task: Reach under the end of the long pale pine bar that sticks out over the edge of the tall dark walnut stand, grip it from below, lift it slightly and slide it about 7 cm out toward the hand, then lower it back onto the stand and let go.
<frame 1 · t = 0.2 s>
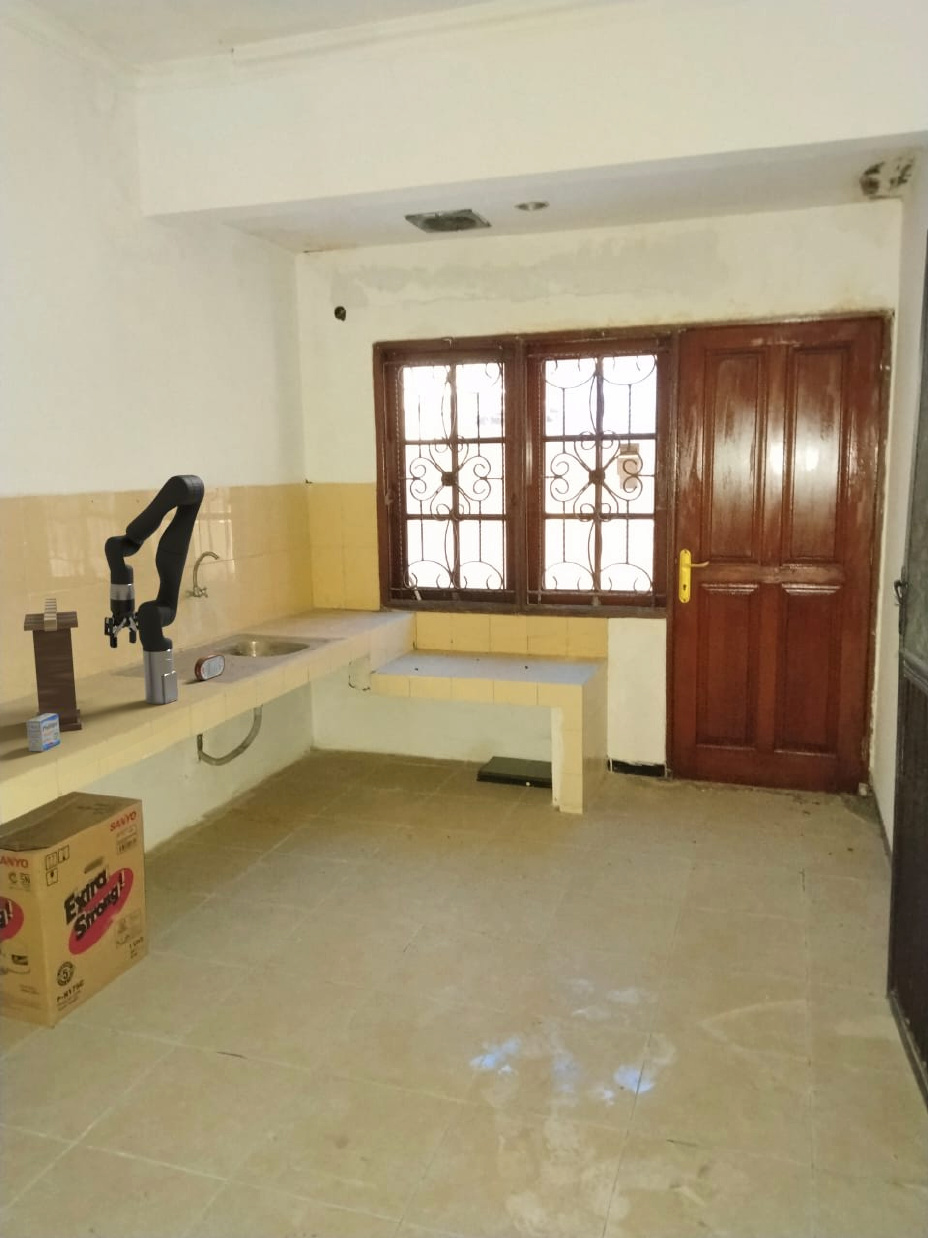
hand: (123, 645, 298), 17 cm above the worktop, tool pointing down, fingers open, 8 cm apart
stand: (59, 723, 271), on the worktop
medicine box: (44, 748, 249), on the worktop
tin: (210, 678, 328), on the worktop
bar: (51, 618, 264), point 32 cm above the worktop, touching stand
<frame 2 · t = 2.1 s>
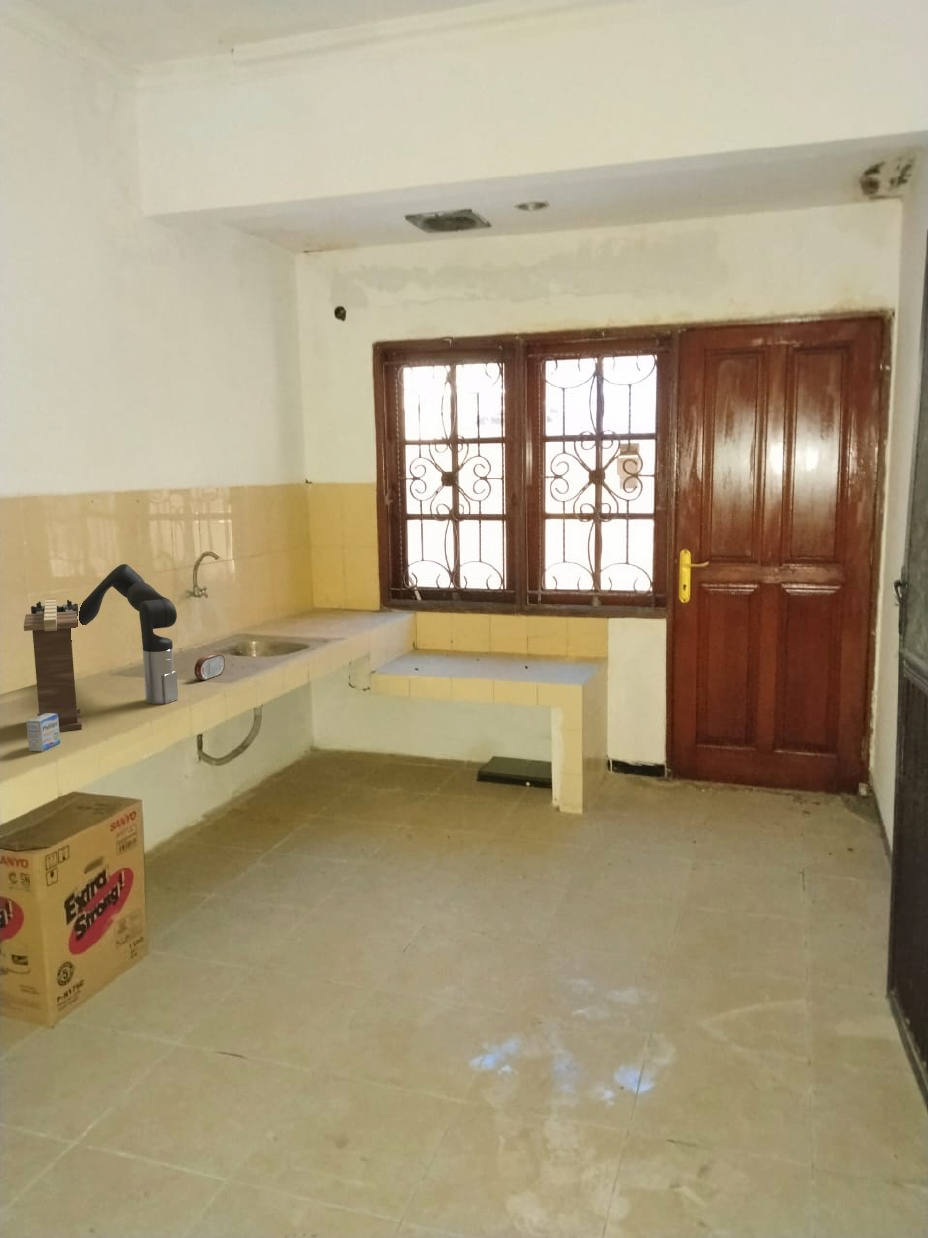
hand: (54, 603, 297), 31 cm above the worktop, tool pointing upward, fingers open, 8 cm apart
nothing on the worktop moved.
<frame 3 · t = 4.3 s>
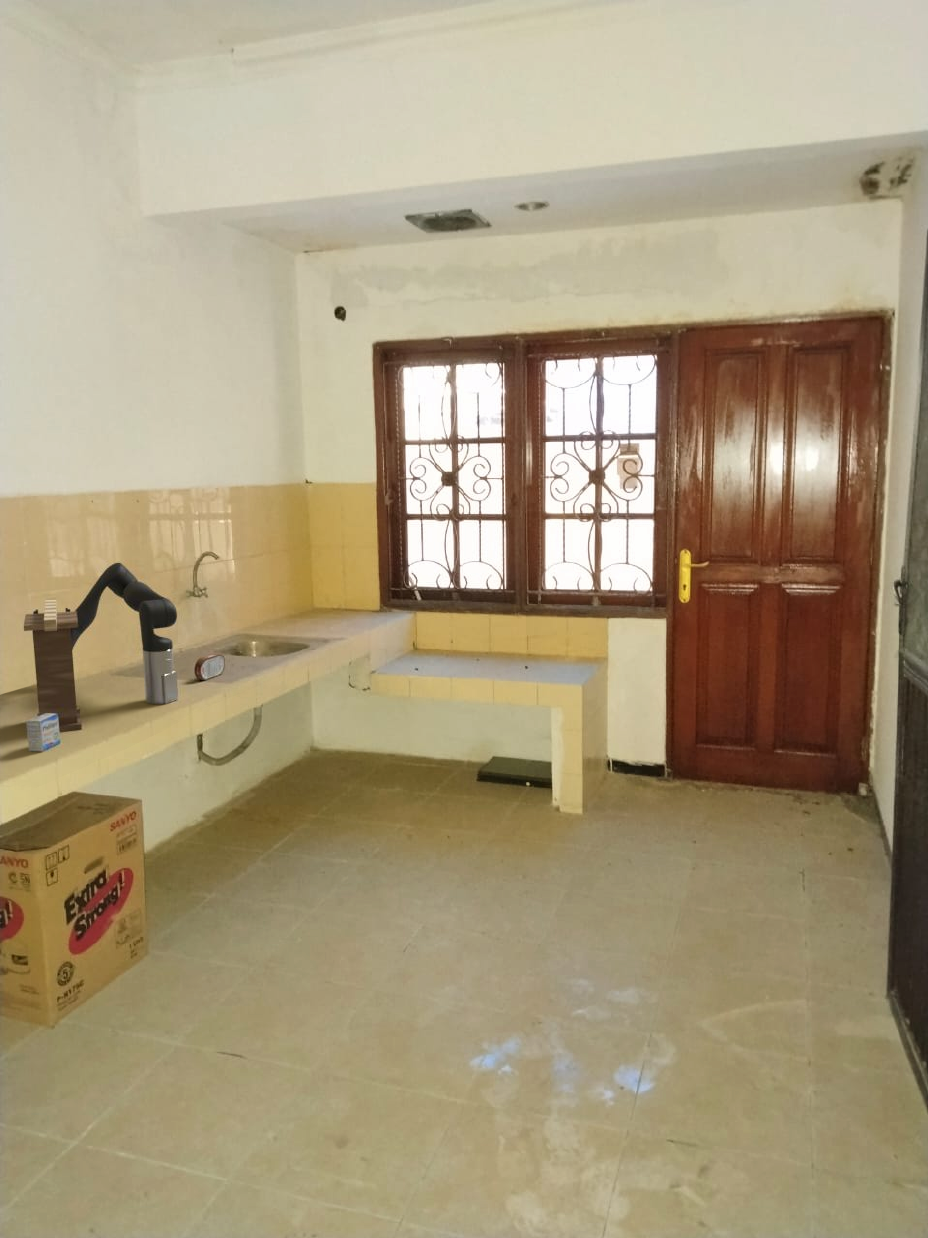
hand: (51, 611, 283), 31 cm above the worktop, tool pointing upward, fingers open, 8 cm apart
nothing on the worktop moved.
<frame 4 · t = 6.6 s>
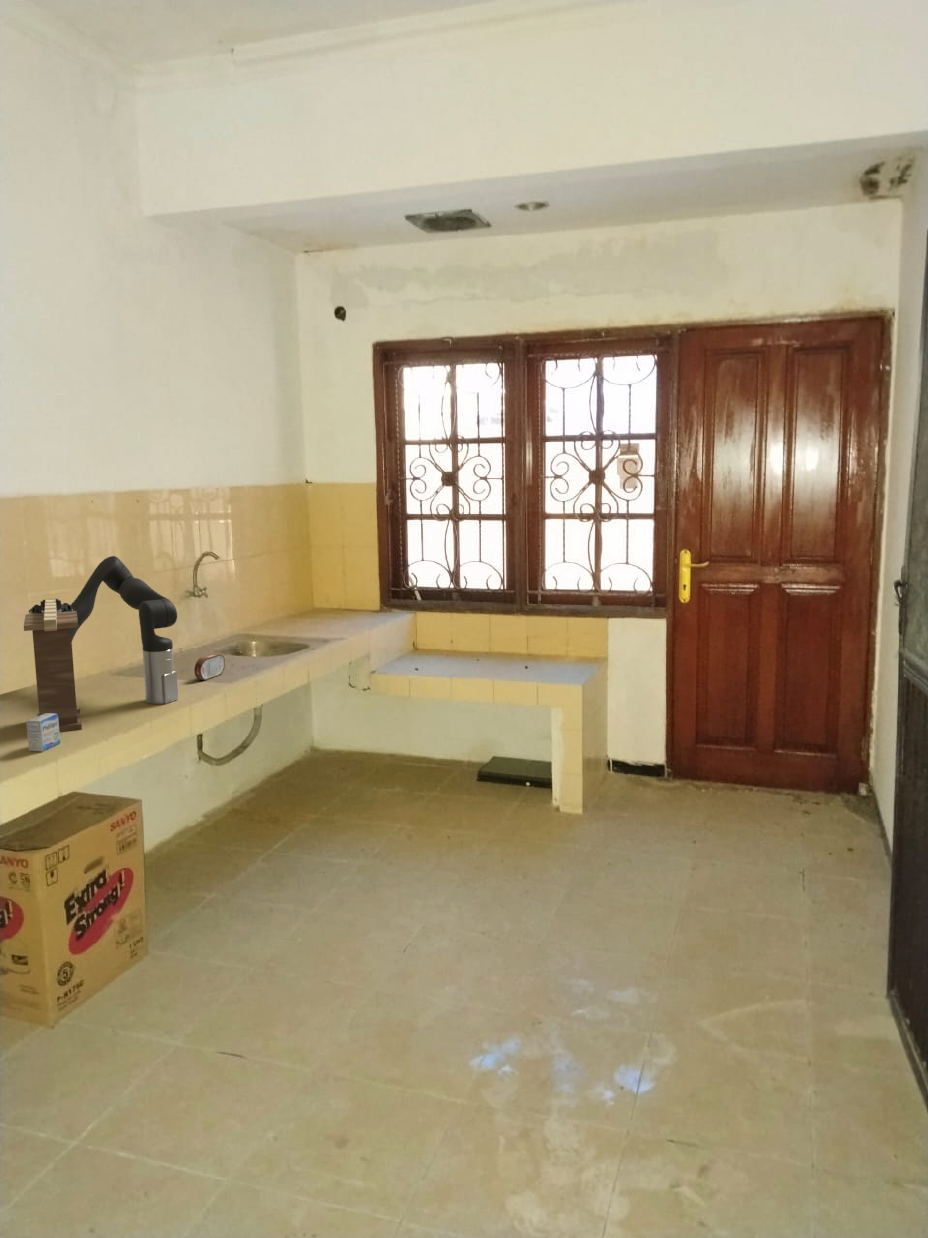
hand: (50, 602, 276), 35 cm above the worktop, tool pointing upward, fingers closed on bar, 3 cm apart
bar: (51, 618, 264), point 32 cm above the worktop, touching gripper, stand
everything else where it was.
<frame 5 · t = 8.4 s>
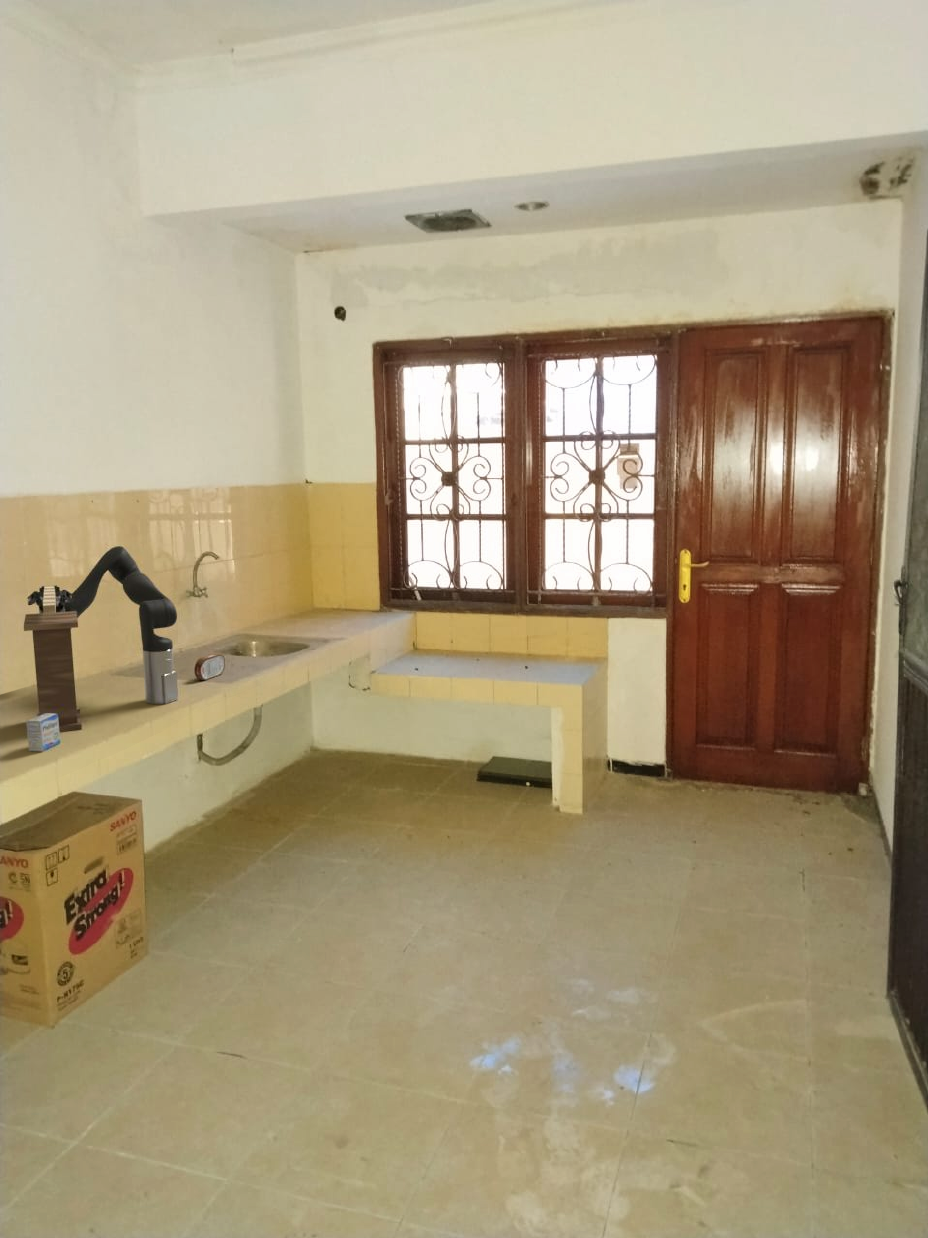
hand: (49, 588, 277), 39 cm above the worktop, tool pointing upward, fingers closed on bar, 3 cm apart
bar: (50, 604, 266), point 36 cm above the worktop, touching gripper
everything else where it was.
when the fingers open (36 cm above the worktop, at t = 10.4 s): bar stays where it is, resting on stand.
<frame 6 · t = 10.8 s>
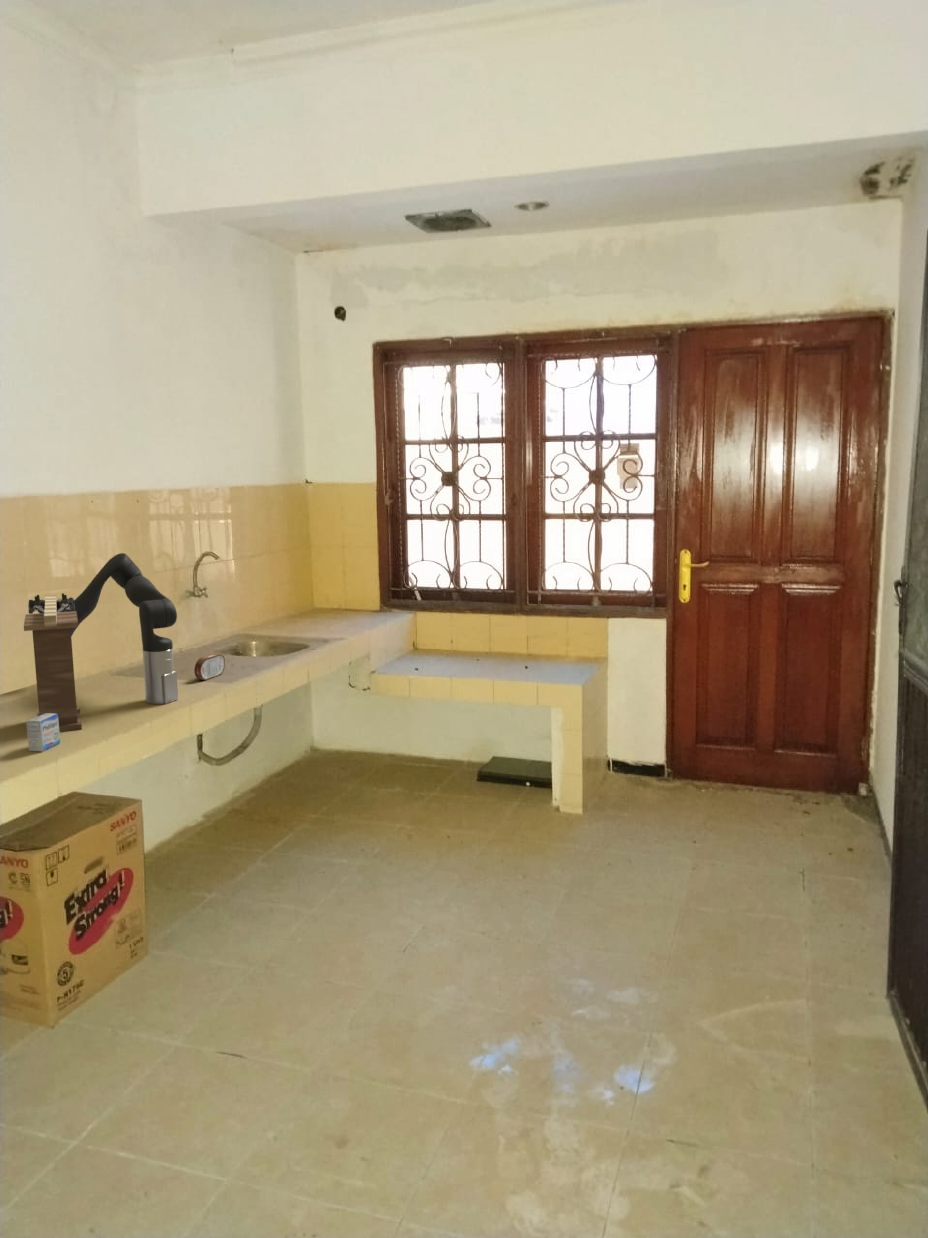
hand: (50, 596, 282), 35 cm above the worktop, tool pointing upward, fingers open, 6 cm apart
bar: (51, 614, 271), point 32 cm above the worktop, touching stand
everything else where it was.
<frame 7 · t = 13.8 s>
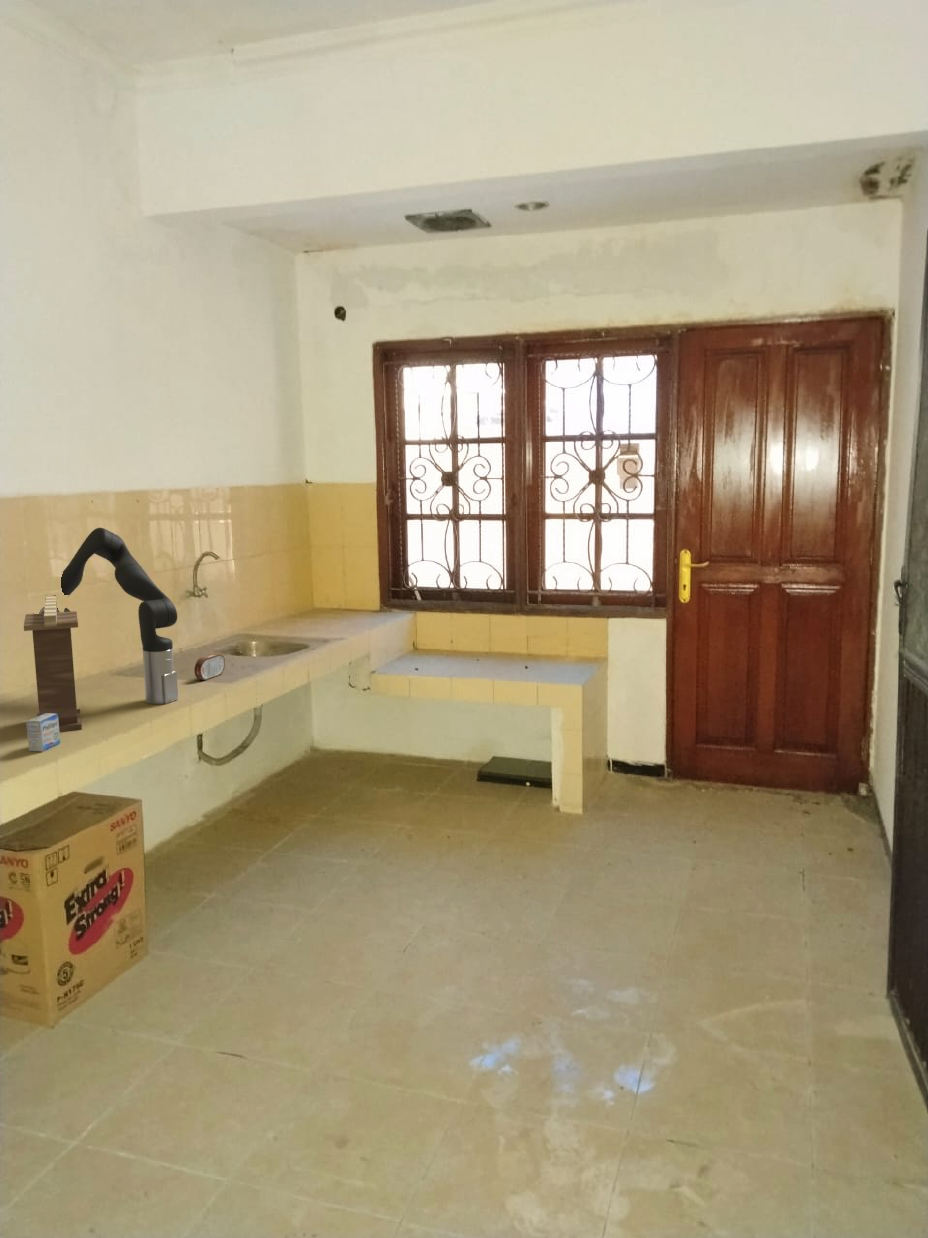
hand: (57, 632, 291), 23 cm above the worktop, tool horizontal, fingers open, 8 cm apart
nothing on the worktop moved.
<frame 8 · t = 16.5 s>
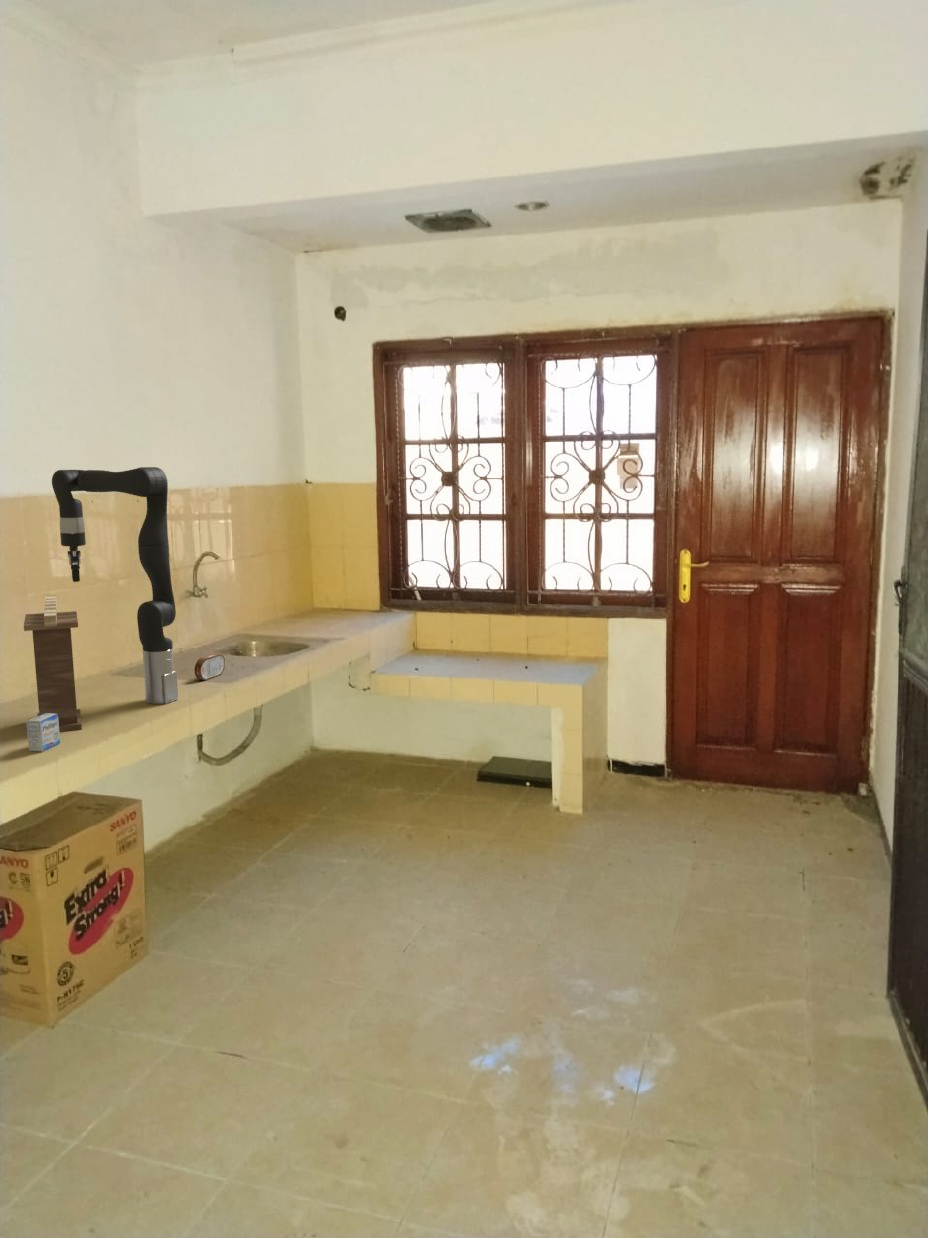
hand: (76, 579, 301), 38 cm above the worktop, tool pointing down, fingers open, 8 cm apart
nothing on the worktop moved.
at the end: bar moved 7.1 cm from its start; bar point 32.0 cm above the worktop; the gripper is holding nothing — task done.
